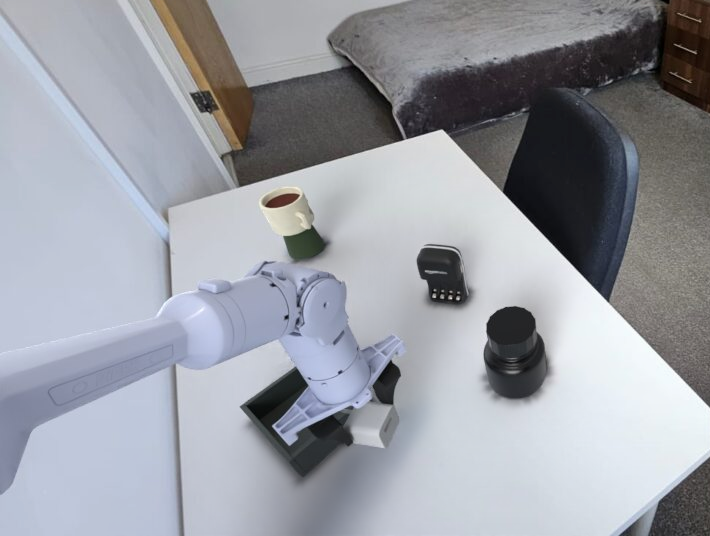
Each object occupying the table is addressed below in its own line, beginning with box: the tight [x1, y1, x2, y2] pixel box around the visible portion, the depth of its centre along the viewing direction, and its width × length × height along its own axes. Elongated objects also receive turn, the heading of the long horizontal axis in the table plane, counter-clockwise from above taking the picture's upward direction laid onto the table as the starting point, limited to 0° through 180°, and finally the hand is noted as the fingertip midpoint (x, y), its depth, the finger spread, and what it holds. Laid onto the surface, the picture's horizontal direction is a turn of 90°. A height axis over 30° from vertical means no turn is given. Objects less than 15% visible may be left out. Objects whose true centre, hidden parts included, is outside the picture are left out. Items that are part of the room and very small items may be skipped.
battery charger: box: [416, 243, 470, 305], centre depth 79 cm, size 7×4×11 cm, turn 84°
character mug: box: [258, 185, 326, 260], centre depth 87 cm, size 11×7×13 cm, turn 59°
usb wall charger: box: [340, 401, 401, 449], centre depth 57 cm, size 4×7×4 cm, turn 82°
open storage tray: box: [239, 365, 373, 478], centre depth 65 cm, size 11×12×4 cm
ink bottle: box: [482, 305, 548, 400], centre depth 68 cm, size 10×9×12 cm
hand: (366, 421), depth 57 cm, fingers closed on usb wall charger, 5 cm apart
